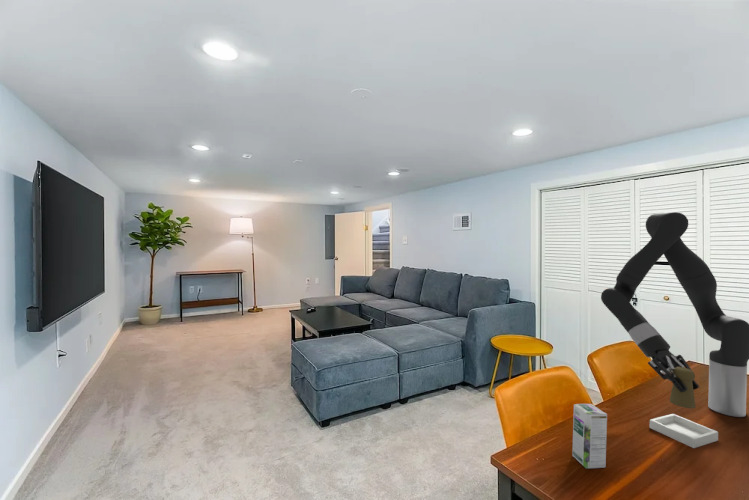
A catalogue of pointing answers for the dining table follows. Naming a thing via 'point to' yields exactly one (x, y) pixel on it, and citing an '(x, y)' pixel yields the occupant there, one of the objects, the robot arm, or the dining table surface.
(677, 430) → the keeper tray
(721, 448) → the dining table surface
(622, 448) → the dining table surface
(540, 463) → the dining table surface
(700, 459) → the dining table surface
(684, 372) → the cork
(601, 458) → the syrup box
